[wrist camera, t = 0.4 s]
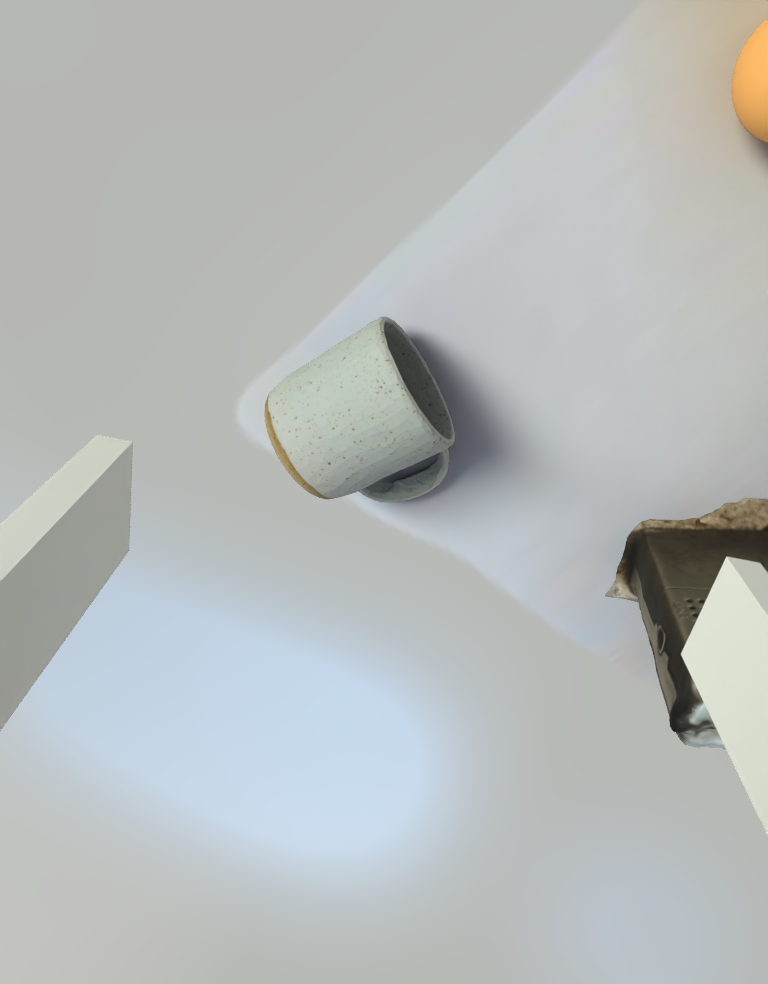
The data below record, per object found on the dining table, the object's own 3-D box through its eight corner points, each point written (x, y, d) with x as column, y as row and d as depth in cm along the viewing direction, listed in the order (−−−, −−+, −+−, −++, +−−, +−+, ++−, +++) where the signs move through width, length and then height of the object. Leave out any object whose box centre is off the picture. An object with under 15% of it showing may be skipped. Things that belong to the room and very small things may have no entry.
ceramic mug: (268, 376, 41) (238, 425, 34) (387, 299, 39) (379, 336, 32) (369, 513, 44) (360, 582, 38) (483, 450, 42) (494, 511, 36)
